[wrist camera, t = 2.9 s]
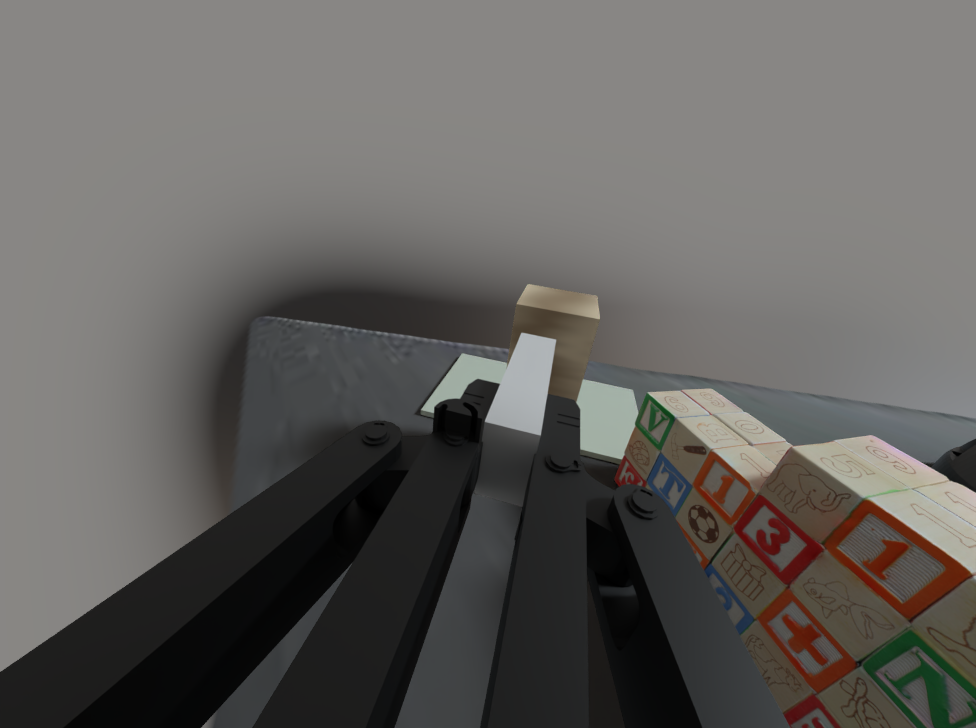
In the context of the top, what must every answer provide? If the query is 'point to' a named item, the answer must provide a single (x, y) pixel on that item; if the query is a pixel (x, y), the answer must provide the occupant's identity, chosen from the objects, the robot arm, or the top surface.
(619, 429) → the sage cutting board
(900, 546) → the stack of blocks
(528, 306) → the maple block
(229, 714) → the top surface
